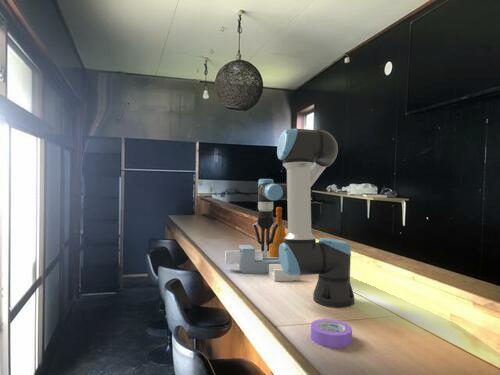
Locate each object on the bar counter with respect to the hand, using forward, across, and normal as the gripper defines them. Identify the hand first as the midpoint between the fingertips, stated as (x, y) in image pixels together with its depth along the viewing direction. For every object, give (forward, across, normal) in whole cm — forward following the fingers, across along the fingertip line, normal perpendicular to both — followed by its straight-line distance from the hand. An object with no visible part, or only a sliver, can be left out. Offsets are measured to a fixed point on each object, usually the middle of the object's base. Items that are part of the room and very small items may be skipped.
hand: (264, 257), depth 186 cm
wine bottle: (+6, -11, -15) cm, 19 cm away
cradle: (+6, -5, +15) cm, 17 cm away
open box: (+6, +1, 0) cm, 6 cm away
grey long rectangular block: (+2, +11, 0) cm, 11 cm away
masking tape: (+6, -2, +79) cm, 79 cm away
